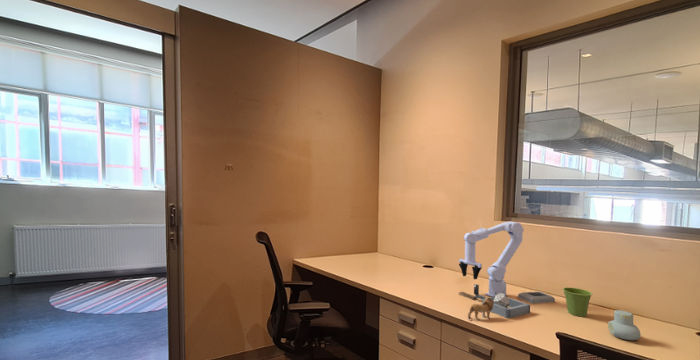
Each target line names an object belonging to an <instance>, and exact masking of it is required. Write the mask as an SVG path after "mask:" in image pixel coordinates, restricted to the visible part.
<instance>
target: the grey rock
mask: <svg viewBox="0 0 700 360" xmlns="http://www.w3.org/2000/svg"><path fill="white" fill-rule="evenodd" d="M495 294H496V293H495ZM507 295H508V294H506V295H504V294H503V291H502V293H498V294H496V295H495V296H494V300H493V303H494V304H497V305H500V306H503V307H505V308H508V307H509V306H510V305H509V301H510V300H511V299H512V298H511V299H509V298H510V297H508V296H507Z"/></svg>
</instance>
